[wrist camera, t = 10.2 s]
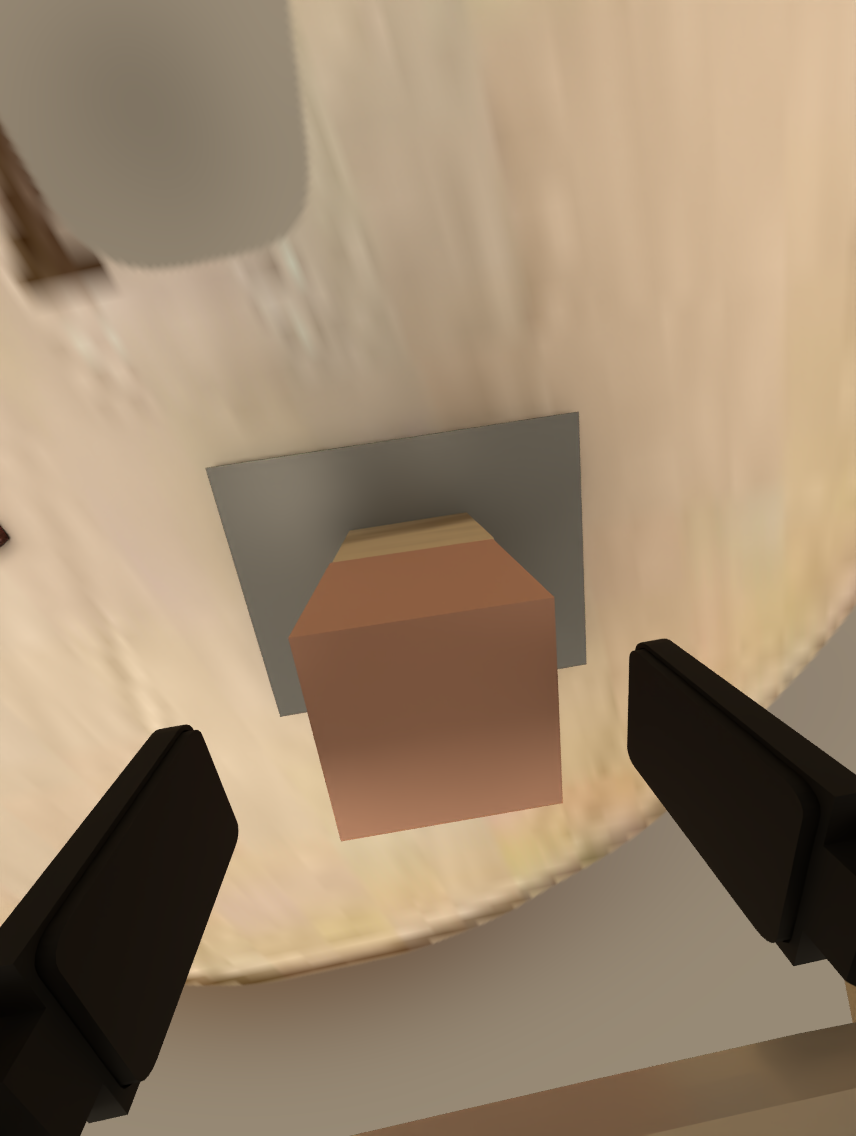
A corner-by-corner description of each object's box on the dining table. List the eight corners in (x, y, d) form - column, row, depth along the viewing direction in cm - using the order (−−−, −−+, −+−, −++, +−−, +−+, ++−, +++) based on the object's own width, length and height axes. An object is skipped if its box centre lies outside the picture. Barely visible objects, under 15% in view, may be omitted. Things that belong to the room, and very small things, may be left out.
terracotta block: (329, 563, 15) (288, 638, 9) (492, 538, 15) (554, 597, 9) (360, 703, 16) (341, 841, 11) (505, 680, 17) (562, 802, 11)
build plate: (214, 466, 20) (205, 468, 19) (570, 413, 21) (578, 411, 20) (284, 705, 24) (280, 716, 23) (579, 655, 25) (586, 664, 24)
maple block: (349, 530, 20) (331, 563, 15) (466, 512, 21) (493, 537, 15) (371, 637, 22) (363, 703, 16) (478, 619, 22) (507, 678, 17)
